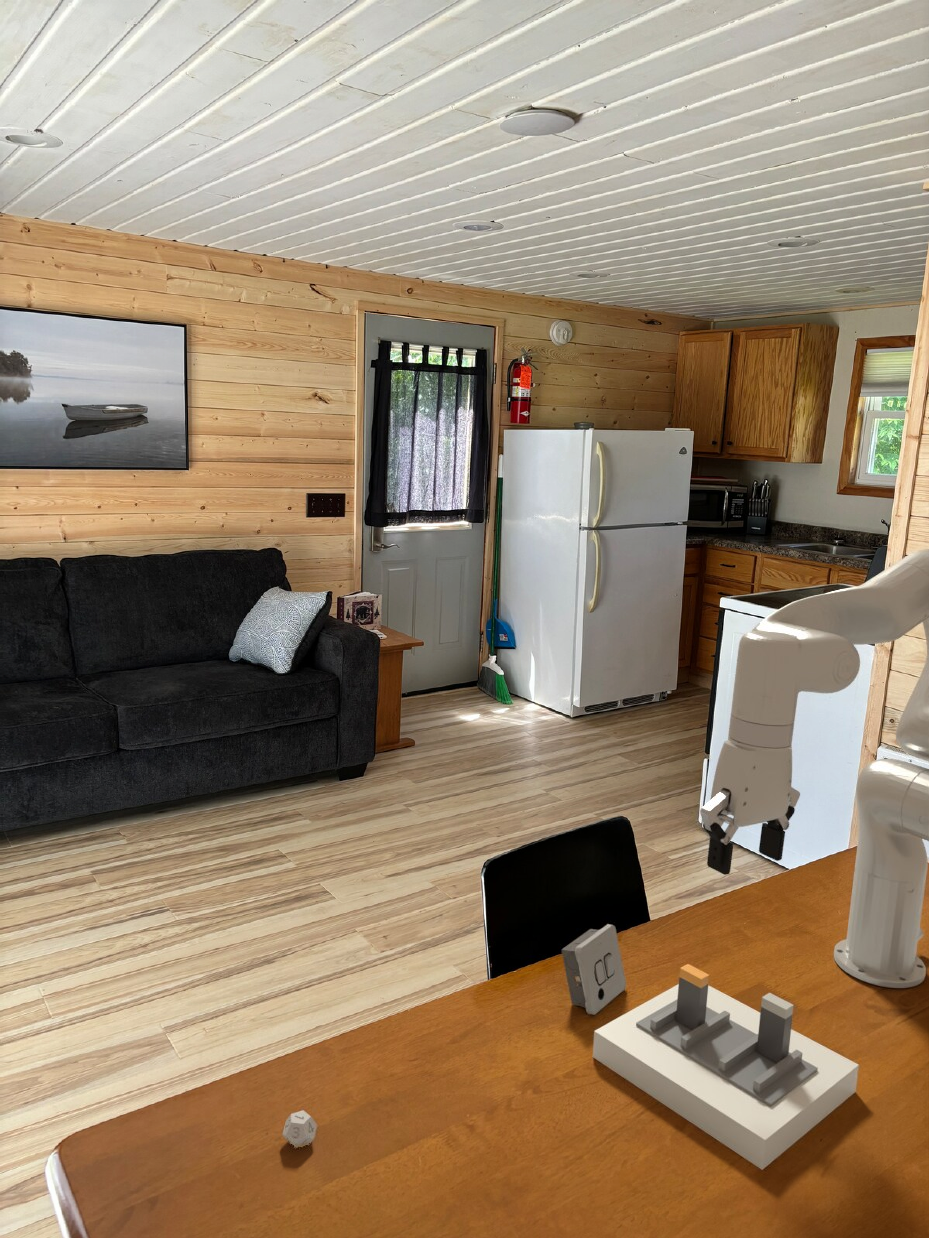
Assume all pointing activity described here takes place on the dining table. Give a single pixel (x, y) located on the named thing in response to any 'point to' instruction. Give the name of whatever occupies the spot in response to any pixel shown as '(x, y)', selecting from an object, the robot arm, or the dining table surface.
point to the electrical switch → (594, 969)
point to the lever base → (730, 1070)
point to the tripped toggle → (692, 996)
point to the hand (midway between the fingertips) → (744, 863)
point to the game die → (299, 1128)
